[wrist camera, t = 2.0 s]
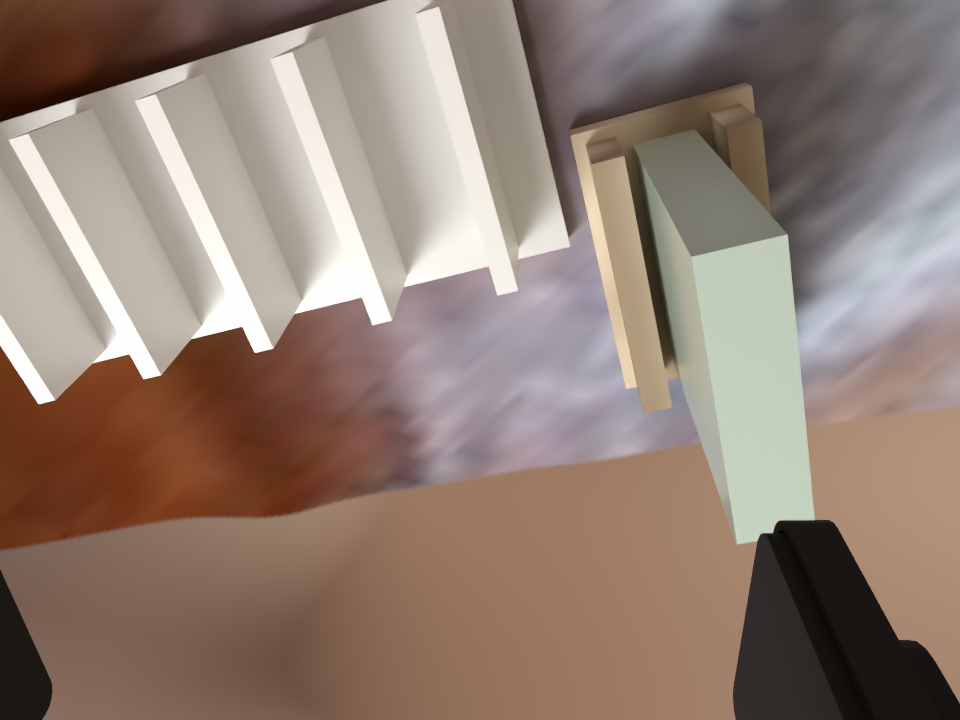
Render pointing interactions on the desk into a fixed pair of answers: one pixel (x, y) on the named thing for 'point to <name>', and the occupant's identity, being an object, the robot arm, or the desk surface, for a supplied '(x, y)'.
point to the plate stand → (624, 223)
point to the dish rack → (272, 187)
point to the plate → (730, 329)
